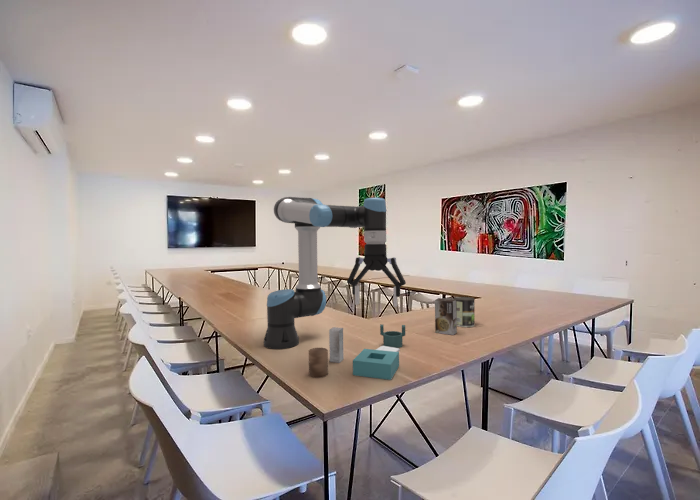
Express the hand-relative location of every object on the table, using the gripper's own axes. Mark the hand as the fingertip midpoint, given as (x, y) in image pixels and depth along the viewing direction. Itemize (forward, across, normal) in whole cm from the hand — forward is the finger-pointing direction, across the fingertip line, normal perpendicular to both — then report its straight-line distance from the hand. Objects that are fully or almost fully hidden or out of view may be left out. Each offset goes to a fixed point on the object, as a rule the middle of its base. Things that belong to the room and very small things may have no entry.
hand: (376, 305), depth 119 cm
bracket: (+23, -1, +30) cm, 38 cm away
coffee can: (+23, +27, +75) cm, 83 cm away
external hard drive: (+24, -2, +18) cm, 30 cm away
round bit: (+23, -18, -9) cm, 30 cm away
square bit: (+23, -17, +5) cm, 29 cm away
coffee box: (+23, +19, +57) cm, 64 cm away
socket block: (+23, 0, 0) cm, 23 cm away
